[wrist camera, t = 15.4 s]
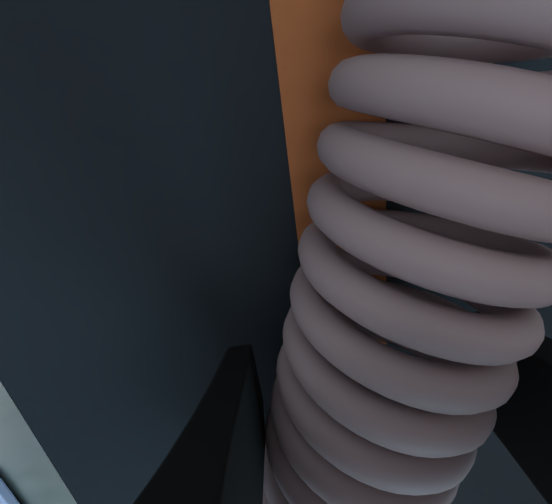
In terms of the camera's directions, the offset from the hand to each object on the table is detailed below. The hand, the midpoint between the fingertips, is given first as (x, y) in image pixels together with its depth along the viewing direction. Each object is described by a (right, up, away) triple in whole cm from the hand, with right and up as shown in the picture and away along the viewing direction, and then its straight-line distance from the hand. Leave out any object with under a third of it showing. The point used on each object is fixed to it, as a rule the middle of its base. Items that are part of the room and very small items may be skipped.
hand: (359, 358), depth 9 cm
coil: (0, +1, +1) cm, 2 cm away
